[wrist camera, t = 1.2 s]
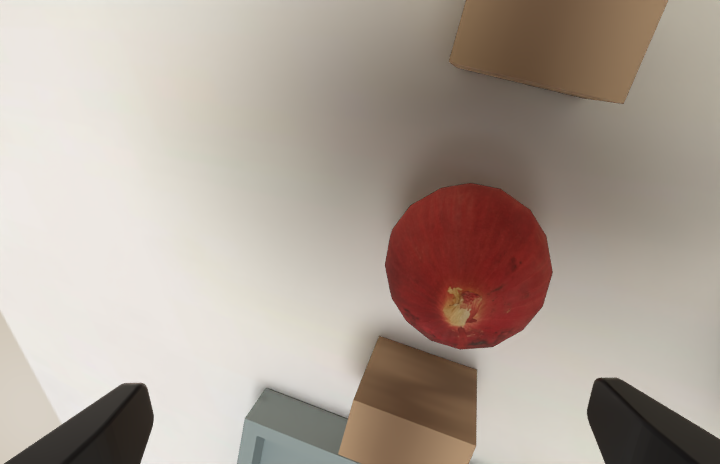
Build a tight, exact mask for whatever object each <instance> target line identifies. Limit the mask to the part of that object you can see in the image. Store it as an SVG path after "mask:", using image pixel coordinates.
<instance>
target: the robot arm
mask: <svg viewBox="0 0 720 464" xmlns="http://www.w3.org/2000/svg"><path fill="white" fill-rule="evenodd" d="M587 416H588V421H589V424H590V426H591V429H592V431H593V434H594V436H595V439H596V441H597V444H598V446H599V449H600V451H601V454H602V457H603V459H604V462H605V464H720V439H719V438H717V437H715V436H714V435H712V434H710V433H709V432H707V431H705V430H704V429H702V428H700V427H699V426H697V425H696V424H694V423H692V422H691V421H689V420H687V419H686V418H684V417H682V416H681V415H679V414H677V413H676V412H674V411H672V410H671V409H669V408H667V407H666V406H664V405H662V404H661V403H659V402H657V401H656V400H654V399H652V398H651V397H649V396H648V395H646V394H644V393H643V392H641V391H639V390H638V389H636V388H634V387H633V386H631V385H629V384H628V383H626V382H624V381H623V380H621V379H619V378H598V379H596V380H595V381H594V384H593V388H592V392H591V396H590V400H589V404H588V408H587ZM153 420H154V415H153V410H152V406H151V401H150V397H149V393H148V389H147V387H146V385H145V384H143V383H124V384H121V385H120V386H118V387H117V388H115V389H114V390H112V391H111V392H109V393H108V394H106V395H105V396H103V397H102V398H100V399H99V400H97V401H96V402H94V403H93V404H91V405H90V406H89V407H87V408H86V409H84V410H83V411H81V412H80V413H78V414H77V415H75V416H74V417H72V418H71V419H69V420H68V421H66V422H65V423H63V424H62V425H60V426H59V427H57V428H56V429H55V430H53V431H52V432H50V433H49V434H47V435H46V436H44V437H43V438H41V439H40V440H38V441H37V442H35V443H34V444H32V445H31V446H29V447H28V448H26V449H25V450H24V451H22V452H21V453H19V454H18V455H16V456H15V457H13V458H12V459H10V460H9V461H7V462H6V463H4V464H140V463H141V460H142V457H143V454H144V451H145V448H146V445H147V442H148V439H149V436H150V433H151V430H152V426H153Z"/></svg>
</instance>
